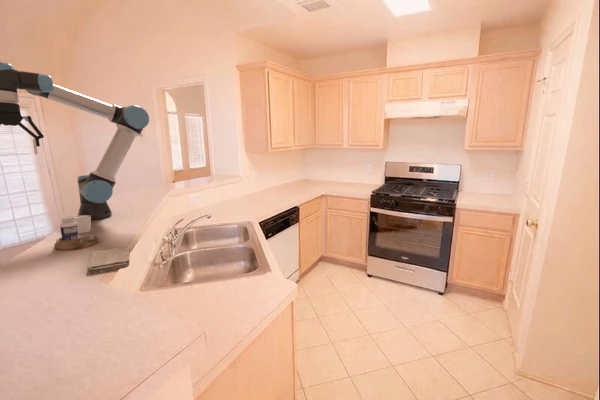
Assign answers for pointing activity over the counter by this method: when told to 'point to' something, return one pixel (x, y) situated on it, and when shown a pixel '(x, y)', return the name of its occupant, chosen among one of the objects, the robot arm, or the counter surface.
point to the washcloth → (109, 259)
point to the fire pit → (76, 243)
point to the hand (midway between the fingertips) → (14, 154)
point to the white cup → (83, 223)
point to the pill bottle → (69, 229)
